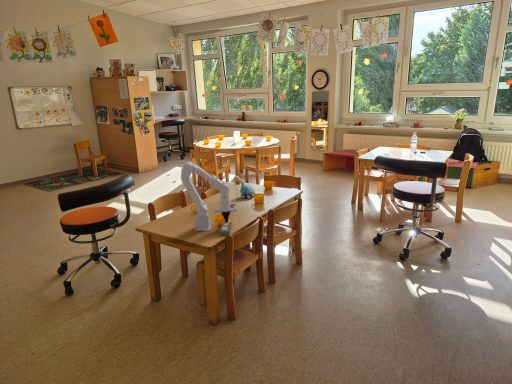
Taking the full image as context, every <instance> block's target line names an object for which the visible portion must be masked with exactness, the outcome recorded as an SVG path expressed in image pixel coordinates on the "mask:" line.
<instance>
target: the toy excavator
mask: <svg viewBox="0 0 512 384" xmlns="http://www.w3.org/2000/svg"><path fill="white" fill-rule="evenodd" d="M233 182H234V183H237V182H239V183H240V184H241V186H240V190H239V193H240V198H241V199H246V198H247V199H248V200H251V199H252V198H253V196H254V195H255V196H256V192H255V190H254V189H253V187H252V185H251V184H248V183H247V184H245V181H244V180H243V179H242V178H240V177H239V175H236V176H234V177H233ZM255 196H254V197H255Z"/></svg>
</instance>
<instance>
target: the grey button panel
mask: <svg viewBox="0 0 512 384" xmlns="http://www.w3.org/2000/svg"><path fill="white" fill-rule="evenodd" d="M224 222H225V221H222V222H221V226H220V228H219V236H230V234H231V232H232V228H233V221H229V222H230V224H228V225H229V227H228V228H227V229H228V231H222V227H223V224H224Z"/></svg>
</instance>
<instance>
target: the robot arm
mask: <svg viewBox="0 0 512 384" xmlns="http://www.w3.org/2000/svg"><path fill="white" fill-rule="evenodd" d="M191 175H199V176H200V177H202V178H204V179H205V180H206V181H208V183H209V185H210V186H212V187H213V188H215V189H216V190H218V192H219V195H220V196H219V197H220V199H219V200H220V208H214V214H216V213H221V216H222V217H223V219H224V222H226V223H228V221H229V218H230V215H231V213H232V212H233V213H234V212H235V213H238V207H231V200H230V192H229V191H230V187H229V185H228V183H227V182H225V181H222V180H221V179H219V176H214V175H213V176H211V174H210V173H208V172H206V170H204V169H203V168H202V167H200V166H199V165H198V164H196V163H194V162H193V161H191V160H188V161H187V160H186V162H185V163H184V164H183V166H182V168H181V173H180V180H181V183H182V184H183V187H184V188H185V189H186V191H187V193H188V194H189V197H190V199H191V200H192V202H193V203H194V207H195V209H196V214H195V215H194V217H193V223H194V231H195V232H198V231H199V232H200V231H204V232H205V231H210V230H211V227H212V224H211V222H210V213H209V212H208V211H209V207H208V204H207V203H206V202H205V201H204V200H202V198H201V196H200V194H199V193H198V191H197V189H196V187H195V185H194V184H193V182H192V180H191V178H190V177H191Z"/></svg>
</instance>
